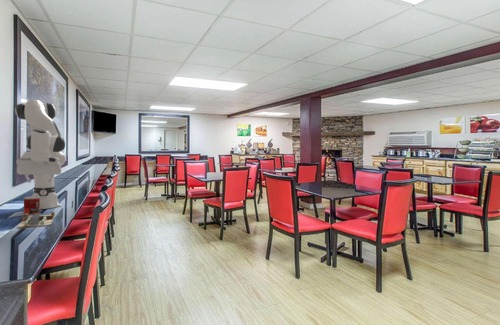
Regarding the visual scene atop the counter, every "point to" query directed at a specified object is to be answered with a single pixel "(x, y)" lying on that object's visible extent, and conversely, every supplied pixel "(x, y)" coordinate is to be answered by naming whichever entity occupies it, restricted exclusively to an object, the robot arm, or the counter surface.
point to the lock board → (44, 220)
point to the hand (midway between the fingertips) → (39, 182)
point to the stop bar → (36, 219)
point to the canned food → (32, 204)
